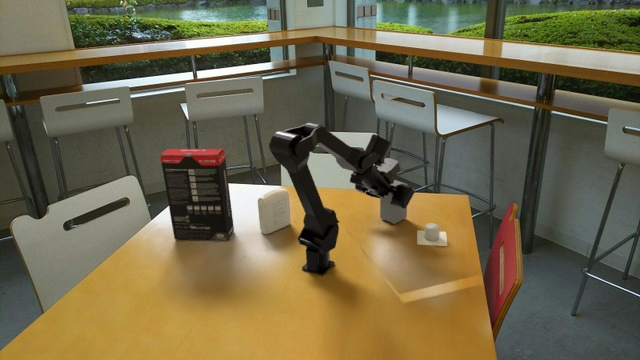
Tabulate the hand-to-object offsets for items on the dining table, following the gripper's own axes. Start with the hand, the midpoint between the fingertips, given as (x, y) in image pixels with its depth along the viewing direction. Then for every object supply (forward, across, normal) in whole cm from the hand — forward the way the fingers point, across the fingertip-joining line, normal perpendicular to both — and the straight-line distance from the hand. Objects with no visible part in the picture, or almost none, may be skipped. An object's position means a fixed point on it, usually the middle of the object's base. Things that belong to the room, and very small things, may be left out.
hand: (396, 201), depth 144 cm
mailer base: (+3, -15, +7) cm, 17 cm away
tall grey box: (+3, 0, +4) cm, 5 cm away
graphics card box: (-28, +35, +38) cm, 58 cm away
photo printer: (-15, +24, +25) cm, 38 cm away
